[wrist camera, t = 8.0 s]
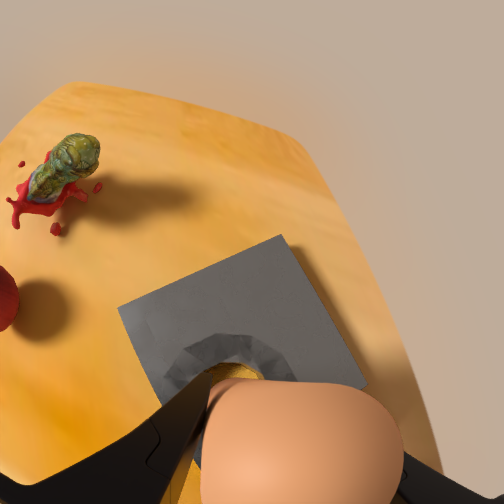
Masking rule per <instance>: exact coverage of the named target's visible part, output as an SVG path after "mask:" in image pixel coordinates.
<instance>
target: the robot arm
mask: <svg viewBox="0 0 504 504" xmlns="http://www.w3.org/2000/svg"><path fill="white" fill-rule="evenodd" d="M212 376H213V375H212V374H211V373H206V372H200V373H199V374H198V375H197V376H196V377H195V378H194V379H192V380H191V381H190V382H189V383H188V384H187V385H186V386H185V387H184V388H182V389H181V390H180V391H179V392H178V393H177V394H176V395H175V396H173V397H172V398H171V399H170V400H169V401H168V402H167V403H165V404H164V405H163V406H162V407H161V408H160V409H158V410H157V411H156V412H155V413H154V414H153V415H152V416H150V417H149V419H146V420H145V421H144V422H143V423H142V424H140V425H139V426H138V427H137V428H135V429H134V430H133V431H131V432H130V433H128V434H127V435H125V436H124V437H122V438H120V439H119V440H117V441H115V442H114V443H112V444H110V445H109V446H107V447H105V448H103V449H102V450H100V451H98V452H96V453H94V454H93V455H91V456H89V457H87V458H85V459H83V460H82V461H80V462H78V463H76V464H74V465H72V466H70V467H68V468H66V469H64V470H62V471H60V472H58V473H56V474H54V475H52V476H50V477H48V478H46V479H44V480H42V481H40V482H38V483H36V484H33V485H22V484H19V483H17V482H15V481H13V480H12V479H10V478H9V477H7V476H6V475H4V474H2V473H1V472H0V503H1V504H177V503H178V500H179V497H180V494H181V492H182V489H183V486H184V483H185V480H186V477H187V474H188V471H189V468H190V465H191V462H192V459H193V456H194V453H195V451H196V448H197V445H198V442H199V439H200V436H201V433H202V429H203V424H204V420H205V415H206V410H207V406H208V401H209V396H210V390H211V383H212ZM390 504H504V494H503V495H500V496H498V497H497V498H495V499H487V498H485V497H482V496H481V495H479V494H477V493H475V492H473V491H471V490H469V489H467V488H465V487H464V486H462V485H460V484H458V483H456V482H455V481H453V480H451V479H449V478H447V477H446V476H444V475H442V474H440V473H439V472H437V471H435V470H433V469H432V468H430V467H428V466H427V465H425V464H423V463H422V462H420V461H418V460H417V459H415V458H414V457H412V456H411V455H409V454H407V453H406V452H405V451H404V462H403V470H402V475H401V479H400V482H399V485H398V488H397V490H396V493H395V495H394V496H393V498H392V500H391V502H390Z"/></svg>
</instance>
